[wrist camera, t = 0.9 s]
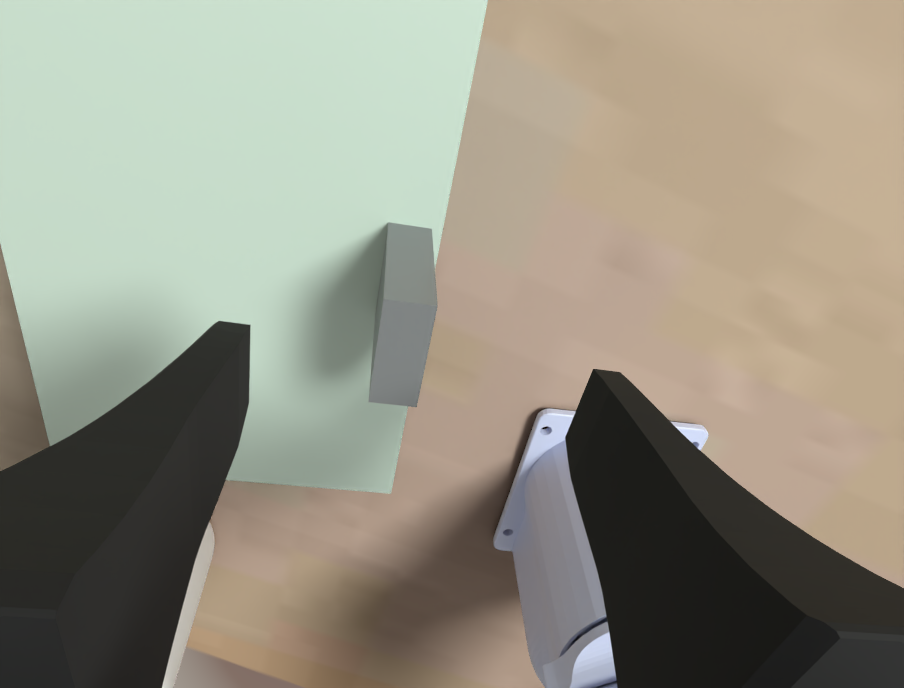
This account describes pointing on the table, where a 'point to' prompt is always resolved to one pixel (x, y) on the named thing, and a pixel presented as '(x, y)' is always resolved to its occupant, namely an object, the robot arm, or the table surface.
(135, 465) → the robot arm
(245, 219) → the tub lid
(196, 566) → the eye dropper bottle
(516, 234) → the table surface
